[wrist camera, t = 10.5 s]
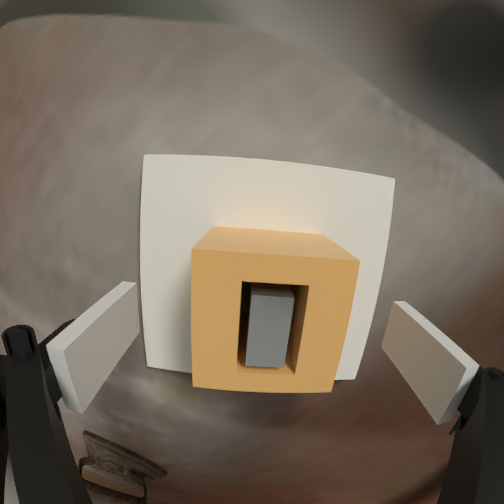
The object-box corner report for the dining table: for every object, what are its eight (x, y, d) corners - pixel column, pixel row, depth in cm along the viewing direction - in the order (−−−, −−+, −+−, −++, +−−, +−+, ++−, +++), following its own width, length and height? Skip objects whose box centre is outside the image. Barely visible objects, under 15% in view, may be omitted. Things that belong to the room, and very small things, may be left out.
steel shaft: (273, 308, 19) (283, 367, 13) (247, 306, 19) (245, 365, 13) (279, 258, 19) (294, 297, 12) (251, 255, 19) (251, 294, 12)
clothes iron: (80, 424, 25) (65, 482, 16) (166, 439, 29) (171, 500, 19) (87, 456, 26) (78, 509, 17) (165, 469, 29) (170, 524, 20)
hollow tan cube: (213, 225, 18) (191, 248, 11) (321, 234, 18) (360, 260, 12) (210, 325, 20) (192, 386, 13) (308, 330, 20) (331, 392, 13)
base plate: (349, 369, 22) (354, 378, 21) (152, 356, 22) (147, 366, 21) (385, 178, 19) (395, 178, 17) (151, 156, 19) (144, 154, 17)
